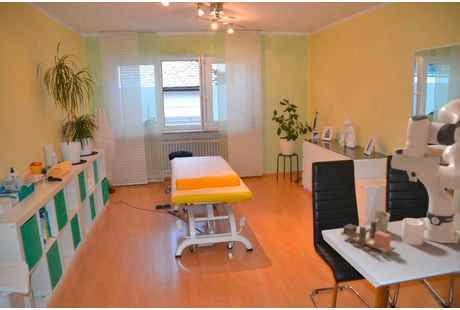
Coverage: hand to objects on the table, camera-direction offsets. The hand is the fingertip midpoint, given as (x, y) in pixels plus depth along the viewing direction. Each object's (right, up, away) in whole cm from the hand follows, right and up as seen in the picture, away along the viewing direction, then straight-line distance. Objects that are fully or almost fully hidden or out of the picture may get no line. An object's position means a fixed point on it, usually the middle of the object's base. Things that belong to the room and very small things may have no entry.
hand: (413, 181), depth 161 cm
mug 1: (-1, -31, +34) cm, 46 cm away
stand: (-11, -35, +15) cm, 40 cm away
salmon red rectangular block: (-9, -33, +12) cm, 36 cm away
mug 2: (+12, -33, +22) cm, 42 cm away
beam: (-14, -32, +18) cm, 40 cm away
